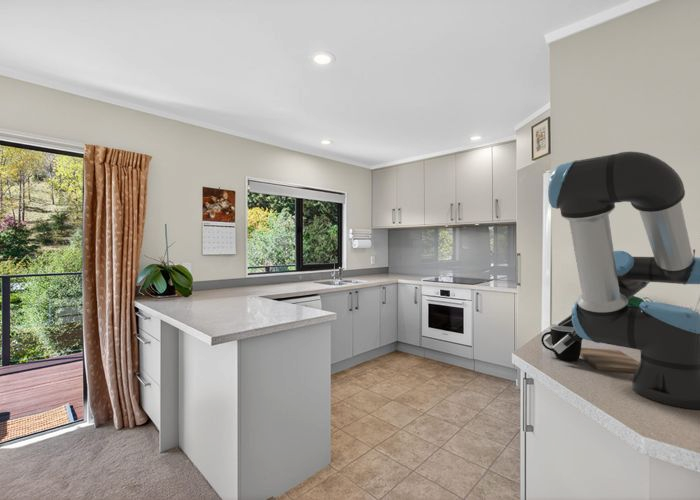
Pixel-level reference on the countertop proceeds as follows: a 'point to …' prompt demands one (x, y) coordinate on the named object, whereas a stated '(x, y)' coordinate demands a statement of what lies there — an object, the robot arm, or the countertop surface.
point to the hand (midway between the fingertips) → (551, 346)
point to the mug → (571, 351)
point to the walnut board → (609, 360)
